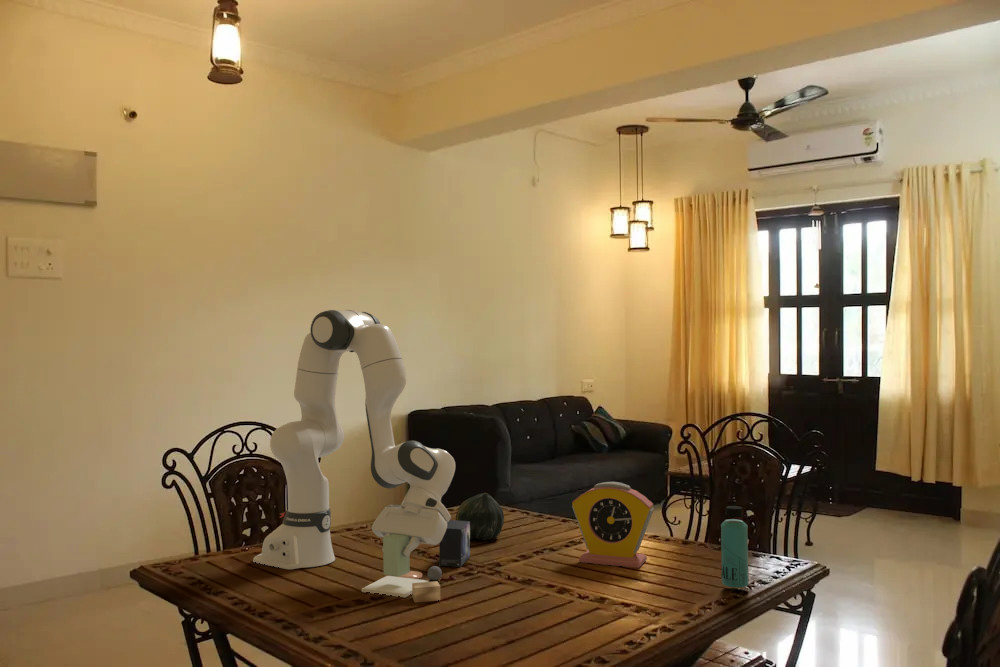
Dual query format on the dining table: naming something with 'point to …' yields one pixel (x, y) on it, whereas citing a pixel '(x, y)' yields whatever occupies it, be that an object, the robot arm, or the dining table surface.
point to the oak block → (426, 591)
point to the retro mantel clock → (613, 524)
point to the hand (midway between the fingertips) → (394, 553)
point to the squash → (482, 516)
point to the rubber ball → (434, 573)
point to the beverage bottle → (734, 549)
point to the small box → (455, 544)
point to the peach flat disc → (412, 575)
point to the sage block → (395, 555)
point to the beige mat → (393, 586)
